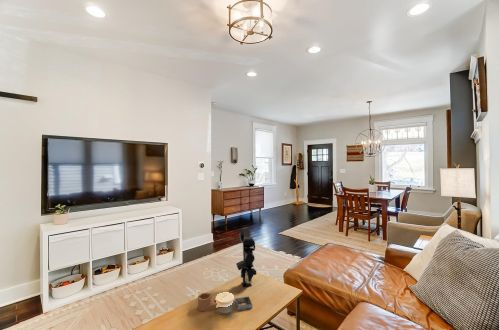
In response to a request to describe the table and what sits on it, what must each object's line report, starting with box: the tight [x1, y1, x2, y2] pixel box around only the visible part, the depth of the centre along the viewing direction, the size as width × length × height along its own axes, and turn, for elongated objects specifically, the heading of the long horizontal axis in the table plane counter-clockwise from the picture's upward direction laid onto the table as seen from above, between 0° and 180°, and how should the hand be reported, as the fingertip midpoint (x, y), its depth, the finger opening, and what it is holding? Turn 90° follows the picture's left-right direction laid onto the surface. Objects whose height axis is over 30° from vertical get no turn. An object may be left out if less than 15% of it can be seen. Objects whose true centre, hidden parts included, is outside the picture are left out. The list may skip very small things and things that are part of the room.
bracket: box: [197, 292, 217, 312], centre depth 148 cm, size 18×8×7 cm, turn 108°
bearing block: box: [234, 296, 253, 312], centre depth 148 cm, size 9×9×2 cm
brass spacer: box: [245, 273, 253, 284], centre depth 159 cm, size 5×5×6 cm
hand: (248, 279), depth 159 cm, fingers closed on brass spacer, 5 cm apart
